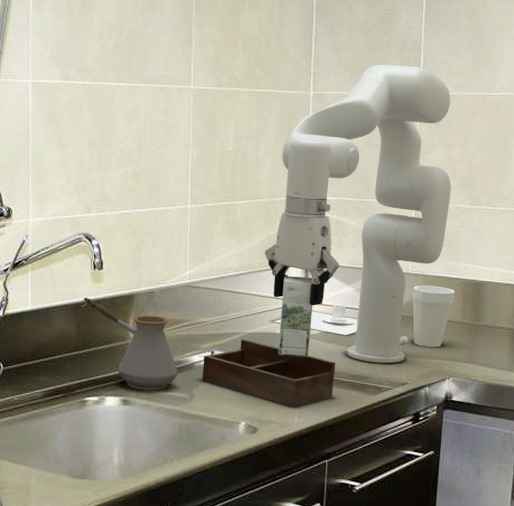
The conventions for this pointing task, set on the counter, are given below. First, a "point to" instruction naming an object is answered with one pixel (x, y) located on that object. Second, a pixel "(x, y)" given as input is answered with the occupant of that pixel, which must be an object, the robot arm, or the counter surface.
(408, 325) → the counter surface
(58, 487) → the counter surface
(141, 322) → the coffee pot
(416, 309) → the foam cup
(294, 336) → the tea packet
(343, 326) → the teacup and saucer
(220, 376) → the compartment tray
